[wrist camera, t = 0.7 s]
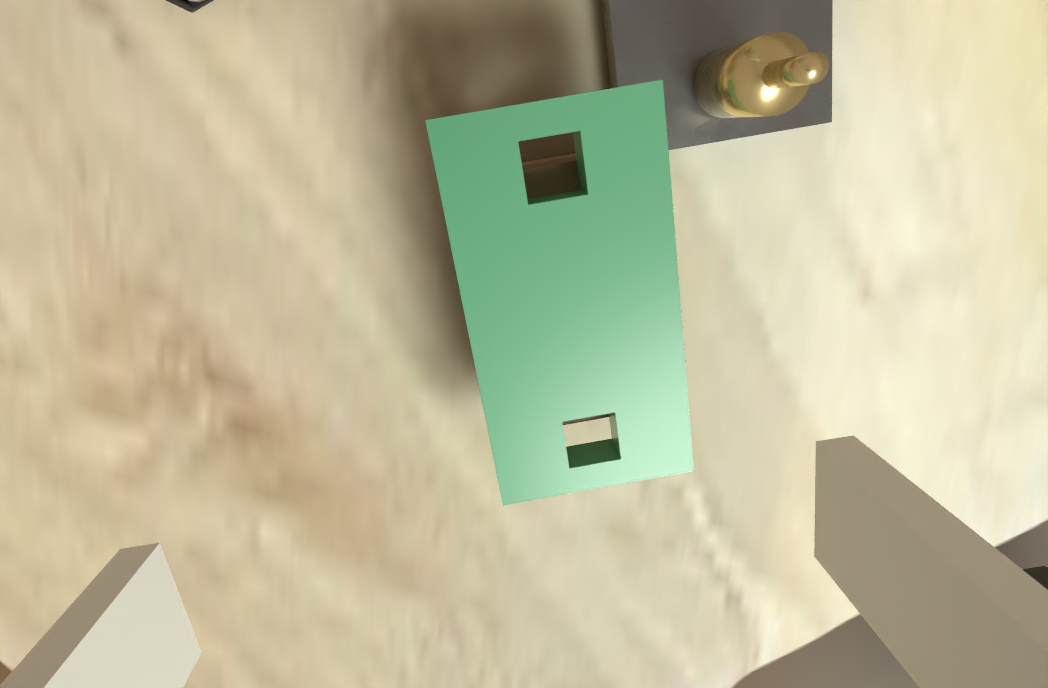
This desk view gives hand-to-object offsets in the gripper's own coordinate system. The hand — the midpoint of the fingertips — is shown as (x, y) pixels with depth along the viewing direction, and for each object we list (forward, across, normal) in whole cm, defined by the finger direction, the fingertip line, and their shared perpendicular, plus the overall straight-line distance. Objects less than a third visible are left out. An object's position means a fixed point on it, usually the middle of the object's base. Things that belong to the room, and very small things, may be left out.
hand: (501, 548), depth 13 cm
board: (+16, +4, 0) cm, 17 cm away
